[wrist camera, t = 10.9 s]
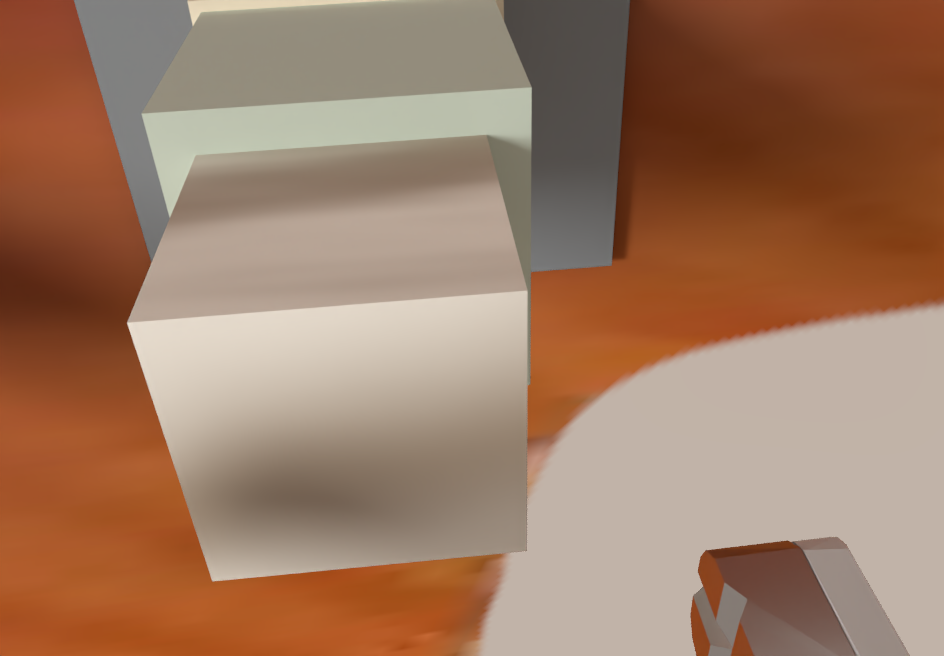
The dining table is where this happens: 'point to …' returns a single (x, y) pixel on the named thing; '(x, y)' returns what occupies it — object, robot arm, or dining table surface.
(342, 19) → the sage block
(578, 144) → the slate mat
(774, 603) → the robot arm
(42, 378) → the dining table surface
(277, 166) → the cream cube
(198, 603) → the dining table surface
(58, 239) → the dining table surface
